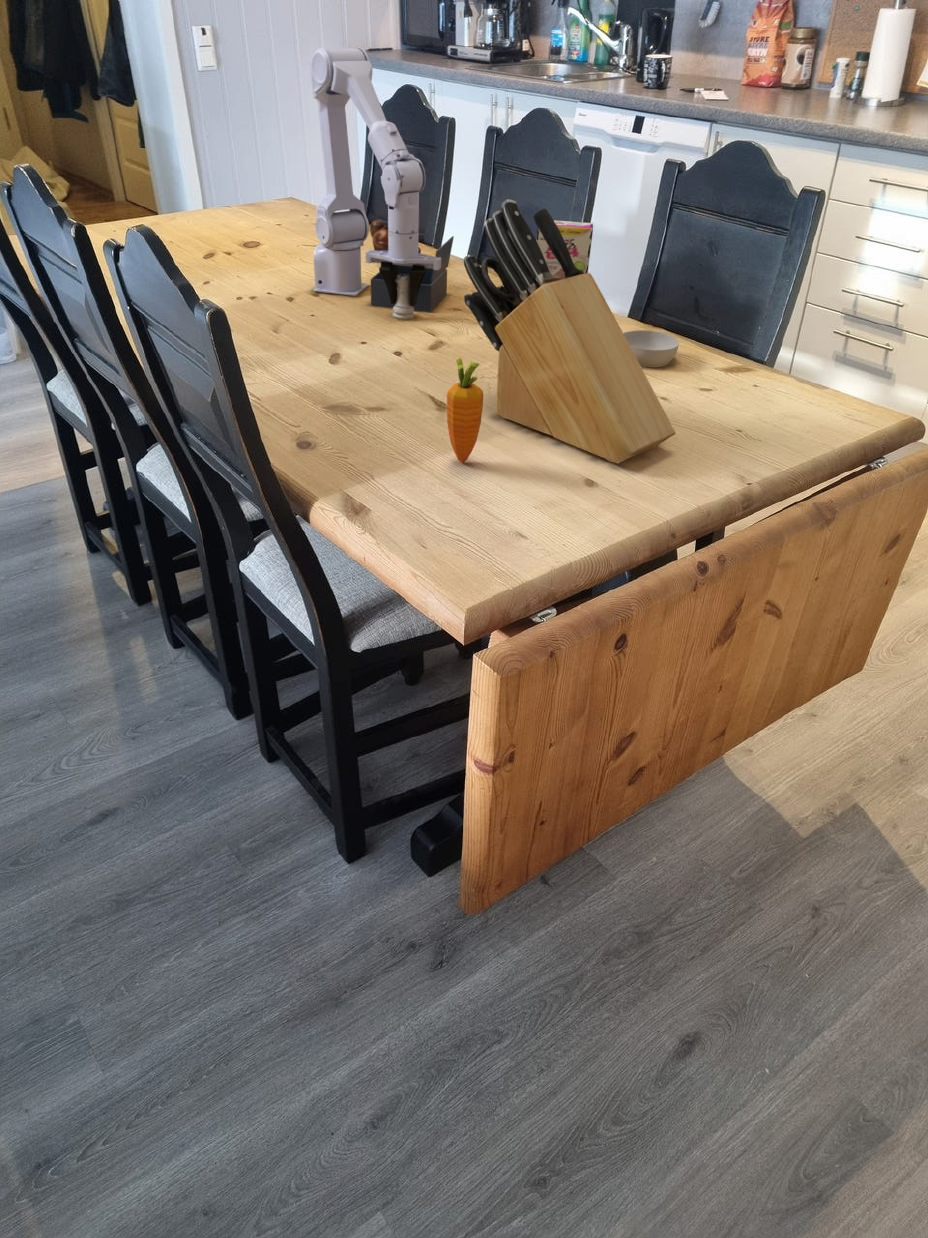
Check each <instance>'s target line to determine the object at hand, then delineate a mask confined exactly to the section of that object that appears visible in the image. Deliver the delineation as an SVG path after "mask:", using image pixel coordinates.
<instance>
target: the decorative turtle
mask: <svg viewBox="0 0 928 1238" xmlns="http://www.w3.org/2000/svg"><path fill="white" fill-rule="evenodd" d="M369 233H370V236H371V238H372V245H373V251H388V224H387V225H386V222H384V221H383V220H378V219H376V220H373V221H372V222H371V223H370V224H369ZM418 253H420V254H422V249H421V247H420V246H418Z"/></svg>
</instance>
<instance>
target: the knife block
mask: <svg viewBox="0 0 928 1238" xmlns="http://www.w3.org/2000/svg"><path fill="white" fill-rule="evenodd" d="M533 220H534V223H535V225H536V228H539V230H540V232H541V234H542V235H543V237H544V239H545V241H546V242H547V244H548V246H549V248H550V250H551V251H552V253H553V255H554V256H555V257H556V259H557V260H558V262H559V263H560V265H561V267H562V269H563V271H564V273H565V279H562V278H561V277H558V276H554V275H552V274H551V272H550V271H549V269H548V266H547V264H546V261H545V259H544V256H543V254H542V251H541V249H540V247H539V245H538V243H537V241H536V237H535V236H534V233H533V231H532V230H531V228H530V226H529V225H528V223H527V222H526V220H525V218H524V217H523V215H522V214H521V212H520V210H519V207H518V203H517V201H515V200H513V199H505V200H504V201H502V202H501V210H497V211H495V212H493V214H492V217H491V218H488V219H486V220H485V221H484V224H483V228H484V232H485V236H486V238H487V241H488V243H489V246H490V248H491V250H492V252H493V254H494V256H495V258H493V257H487V258H485V259H484V260H482V262H481V264H479V262H478V260H477V258H476V256H475V255H474V254H467V255H465V256H464V257H463V265H464V268H465V271H466V273H467V275H468V277H469V280H470V281H471V283H472V285H473V286H474V289H475V290H476V291H473V292H472V293H467V294H465V295H464V296H463V300H464V304H465V306H467V308H468V309H469V310H470V312H471V314H473V316H474V318H475V320H476V321H477V323H478V325H479V327H480V328H481V330H482V331H483V333H484V335H485V336H486V338H487V339H488V340H489V342H490V344H491V345H492V346H493V348H494V350H495V351H497V352H498V365H497V379H496V380H497V384H496V405H495V406H496V410H495V411H496V415H497V416H500V417H502V418H503V420H510V421H513V422H514V423H516V424H517V423H518V424H520V425H521V426H525V427H527V428H531V429H532V430H535V431H538V432H539V433H540V432H541V433H543V434H546V435H548V436H552V437H553V438H555V439H557V440H559V441H561V442H563V443H567V444H569V445H571V446H574V447H576V448H579V449H581V450H584V451H586V452H588V453H591V454H593V455H596V456H598V457H601V458H603V459H605V460H606V461H608V462H610V463H616V464H620V463H622V462H624V461H626V460H628V459H630V458H632V457H635V456H638V455H639V454H641V453H644V452H646V451H648V450H650V449H653V448H655V447H656V446H658V445H660V444H662V443H664V442H665V441H667V440H669V439H670V438H672V437H674V436H675V435H676V430H675V429H674V427H673V424H672V423H671V421H670V420H669V418H668V416H667V413H666V411H665V410H664V408H663V406H662V404H661V402H660V400H659V398H658V396H657V394H656V392H655V391H654V389H653V387H652V384H650V381H649V379H648V378H647V376H646V373H645V372H644V370H643V368H642V366H640V364H639V362H638V360H637V359H636V357H635V355H634V353H633V351H632V349H631V347H630V345H629V343H628V342H627V340H626V338H625V336H624V334H623V333H624V332H623V330H622V328H621V327H620V324H619V322H618V321H617V319H616V317H615V316H614V314H613V312H612V309H611V307H610V306H609V304H608V302H607V301H606V299H605V297H604V295H603V293H602V291H601V289H600V287H599V286H598V284H597V282H596V281H595V278H594V277H593V275H592V273H590V272H588V273H585V274H584V273H583V271H582V270H578V269H577V268H576V267H575V265H574V263H573V261H572V258H571V256H570V253H569V250H568V248H567V245H566V243H565V241H564V239H563V237H562V235H561V232H560V230H559V229H558V227H557V225H556V224H555V222H554V220H555V219H553V217H552V215H551V214H550V212H549V211H548V209H546V208H541V209H540V210H538V211H536V212H535V213H534V215H533ZM488 267H491V268H492V269H493V271H494V272H495V274H496V275H497V276H498V278H499V280H500V282H501V284H502V285H501V286H496V284H495V283H494V282H493V280H492V279H491V277H490V275H489V268H488Z"/></svg>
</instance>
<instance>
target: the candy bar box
mask: <svg viewBox="0 0 928 1238" xmlns="http://www.w3.org/2000/svg"><path fill="white" fill-rule="evenodd" d="M553 220H554V222H555V224H556V225H557V227H558V229H559V230H560V232H561V235H562V237H563V239H564V241H565V243H566V245H567V248H568V250H569V253H570V256H571V258H572V261H573V263H574V265H575V267H576V268H577V269H578V270H582V271H583V273H584V274H585V273H589V265H590V258H591V249H592V242H593V234H594V233H593V232H594V223H592V222H582V221H570V220H569V221H568V220H559V219H558V220H557V219H553ZM536 229H537V230H536V237H535V239H536V241H537V243H538V245H539V247H540V249H541V251H542V254H543V256H544V259H545V261H546V264H547V266H548V269H549V271H550V272H551V274H552V275H554V276H558V277H561V278H562V279H565V273H564V271H563V269H562V267H561V265H560V263H559V262H558V260H557V259H556V257H555V256H554V255H553V253H552V251H551V250H550V248H549V246H548V244H547V242H546V241H545V239H544V237H543V235H542V234H541V232H540V230H539V228H538V227H536Z"/></svg>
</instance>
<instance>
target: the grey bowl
mask: <svg viewBox="0 0 928 1238" xmlns="http://www.w3.org/2000/svg"><path fill="white" fill-rule="evenodd" d="M623 334H624V336H625V338H626V340H627V342H628V343H629V345H630V347H631V349H632V351H633V353H634V355H635V357H636V359H637V360H638V362H639V364H640V366H641V368H642V367H643V368H661V367H665V366H667V365H669V364H670V362H671V361H672V360H673V359H674V358H675V356H676V354H677V353H678V349H679V345H680V341H679V339H677V338H676V337H675V336H672V335H670V334H669V333H668V334H667V333H665V332H660V331H655V330H647V329H646V330H645V329H644V330H642V329H640V330H629V331H626V332H623Z"/></svg>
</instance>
